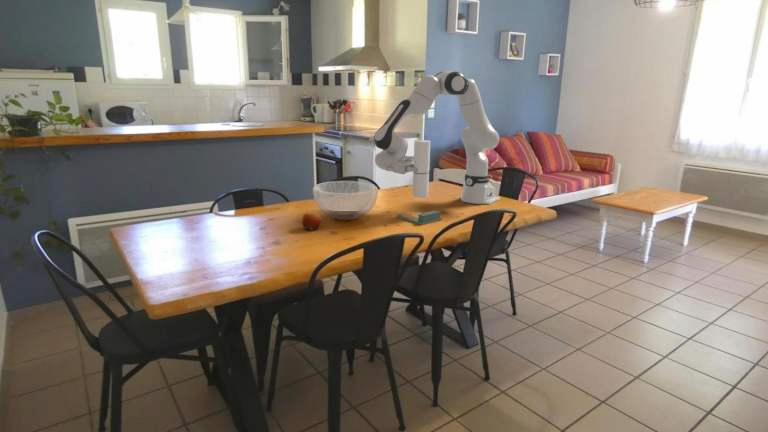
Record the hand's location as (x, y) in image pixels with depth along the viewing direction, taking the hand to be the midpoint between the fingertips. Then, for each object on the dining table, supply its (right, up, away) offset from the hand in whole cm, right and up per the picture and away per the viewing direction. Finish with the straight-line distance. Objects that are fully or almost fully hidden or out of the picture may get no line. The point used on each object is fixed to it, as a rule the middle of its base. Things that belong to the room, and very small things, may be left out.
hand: (422, 169), depth 208 cm
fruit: (-48, -27, -16) cm, 57 cm away
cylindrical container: (-1, -12, +4) cm, 13 cm away
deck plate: (-2, -22, +2) cm, 23 cm away
